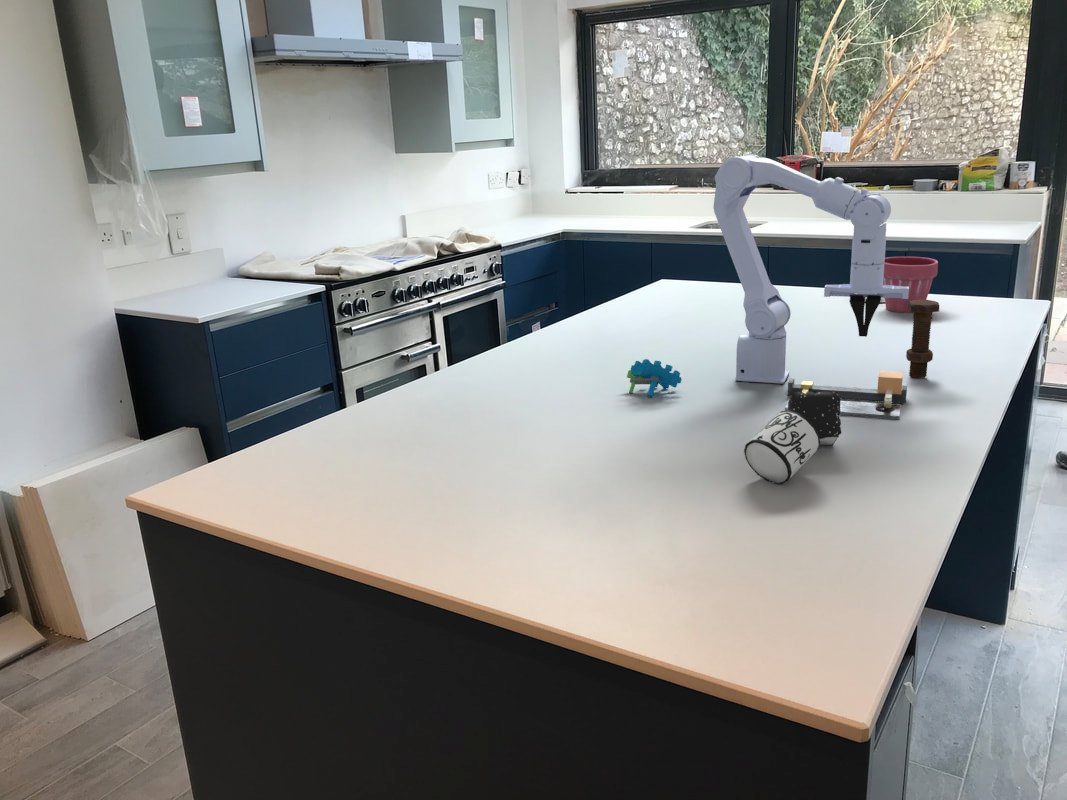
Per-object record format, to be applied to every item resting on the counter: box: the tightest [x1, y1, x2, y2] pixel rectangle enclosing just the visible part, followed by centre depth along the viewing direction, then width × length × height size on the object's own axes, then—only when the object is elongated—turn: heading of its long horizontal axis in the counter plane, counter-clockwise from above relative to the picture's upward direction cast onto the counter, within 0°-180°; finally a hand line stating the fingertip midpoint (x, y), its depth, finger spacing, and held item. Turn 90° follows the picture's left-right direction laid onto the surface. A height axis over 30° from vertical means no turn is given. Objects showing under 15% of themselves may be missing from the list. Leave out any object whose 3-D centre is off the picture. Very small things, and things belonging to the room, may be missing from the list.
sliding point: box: [877, 370, 904, 408], centre depth 156 cm, size 4×10×4 cm, turn 157°
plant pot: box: [883, 256, 939, 313], centre depth 229 cm, size 14×14×13 cm
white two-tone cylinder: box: [743, 392, 842, 485], centre depth 133 cm, size 25×10×10 cm, turn 146°
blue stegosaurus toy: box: [626, 358, 683, 398], centre depth 170 cm, size 11×6×10 cm
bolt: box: [905, 299, 940, 380], centre depth 170 cm, size 6×5×15 cm
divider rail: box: [787, 377, 908, 405], centre depth 160 cm, size 21×10×3 cm, turn 67°
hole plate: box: [784, 399, 902, 420], centre depth 156 cm, size 19×6×1 cm, turn 67°
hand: (863, 335), depth 165 cm, fingers closed
